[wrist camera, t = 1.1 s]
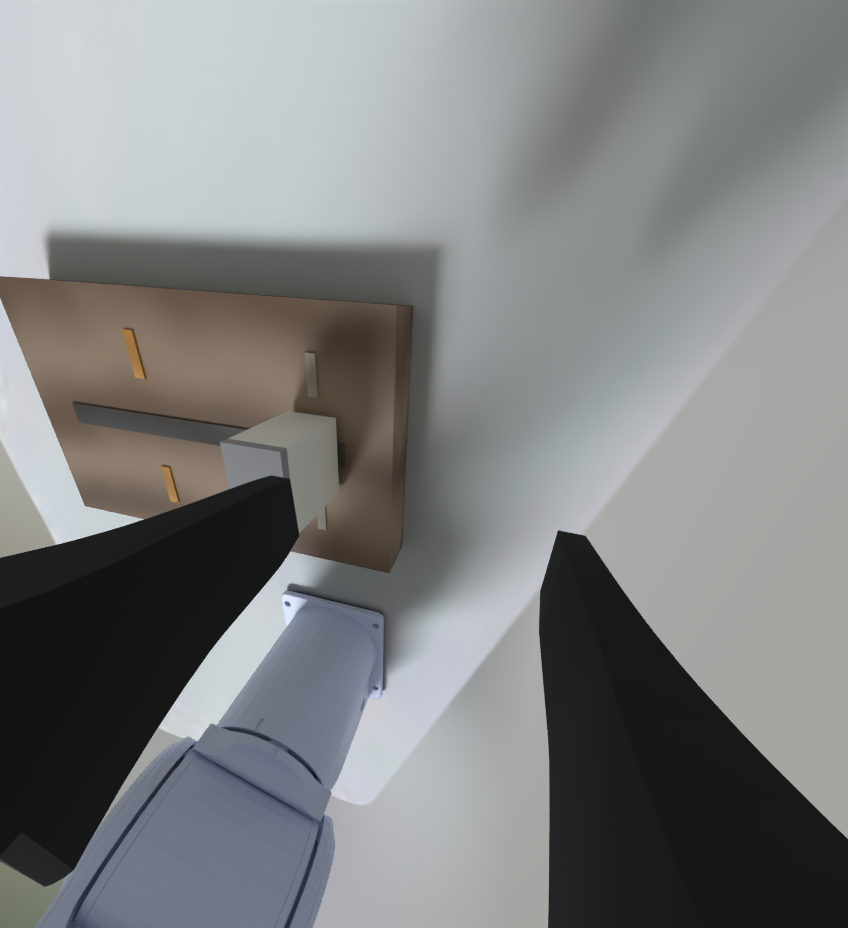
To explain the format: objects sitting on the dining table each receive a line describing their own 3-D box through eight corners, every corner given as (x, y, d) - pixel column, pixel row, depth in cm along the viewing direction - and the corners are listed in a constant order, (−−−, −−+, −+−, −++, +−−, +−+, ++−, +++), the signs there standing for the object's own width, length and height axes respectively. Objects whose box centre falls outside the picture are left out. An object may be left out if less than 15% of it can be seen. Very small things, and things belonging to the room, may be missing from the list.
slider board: (401, 546, 22) (388, 574, 20) (121, 489, 26) (83, 506, 24) (412, 305, 16) (396, 305, 14) (48, 279, 20) (-12, 275, 18)
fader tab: (339, 491, 18) (291, 542, 14) (295, 483, 18) (237, 530, 15) (335, 417, 16) (280, 452, 12) (288, 411, 17) (219, 442, 13)
